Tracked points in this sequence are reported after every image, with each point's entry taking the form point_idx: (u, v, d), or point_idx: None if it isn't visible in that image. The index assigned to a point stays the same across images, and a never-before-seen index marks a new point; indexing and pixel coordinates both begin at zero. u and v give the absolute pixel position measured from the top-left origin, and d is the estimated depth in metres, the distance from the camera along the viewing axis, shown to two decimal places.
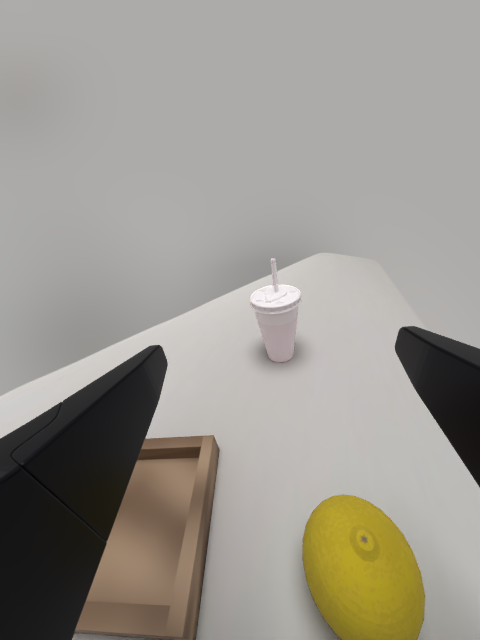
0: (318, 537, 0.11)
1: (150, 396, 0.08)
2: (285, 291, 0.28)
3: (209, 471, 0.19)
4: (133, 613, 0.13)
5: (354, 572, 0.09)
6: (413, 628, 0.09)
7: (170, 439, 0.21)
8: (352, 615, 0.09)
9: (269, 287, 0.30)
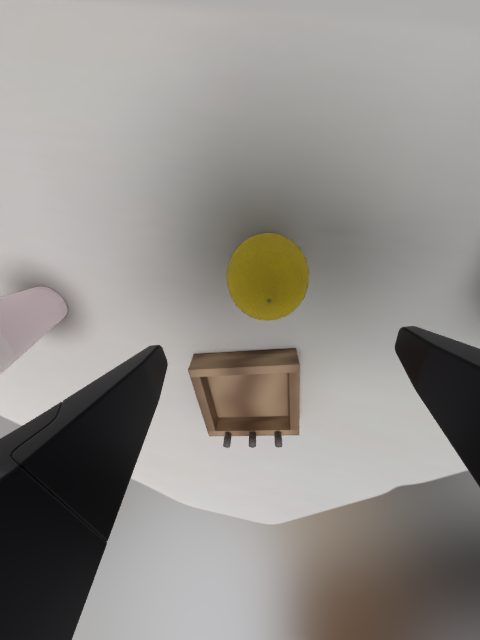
0: (264, 319, 0.14)
1: (150, 396, 0.08)
2: None
3: (216, 365, 0.23)
4: (292, 388, 0.23)
5: (284, 305, 0.13)
6: (302, 262, 0.13)
7: (198, 398, 0.25)
8: (300, 302, 0.14)
9: None
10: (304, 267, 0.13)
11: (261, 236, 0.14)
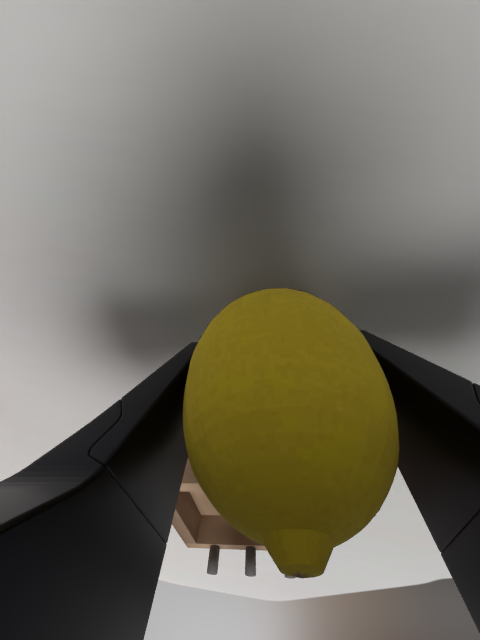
0: None
1: None
2: None
3: (191, 475, 0.14)
4: None
5: None
6: (389, 400, 0.04)
7: None
8: None
9: None
10: (395, 415, 0.05)
11: (268, 314, 0.05)
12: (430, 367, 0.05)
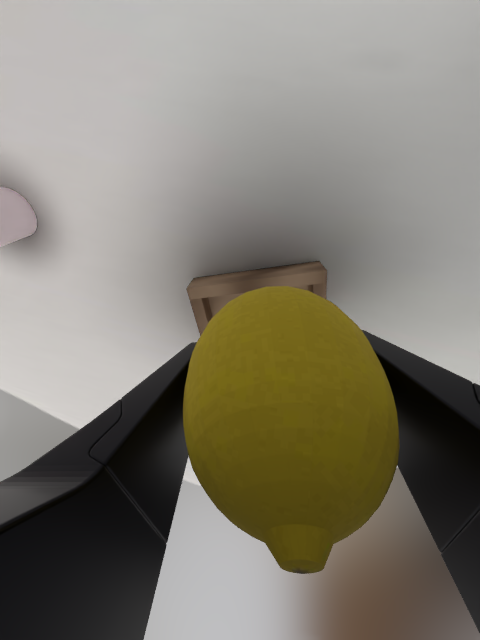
0: None
1: None
2: None
3: (221, 282, 0.18)
4: None
5: (343, 537, 0.04)
6: (389, 397, 0.04)
7: (201, 331, 0.20)
8: None
9: None
10: (395, 411, 0.05)
11: (268, 311, 0.05)
12: (430, 367, 0.05)
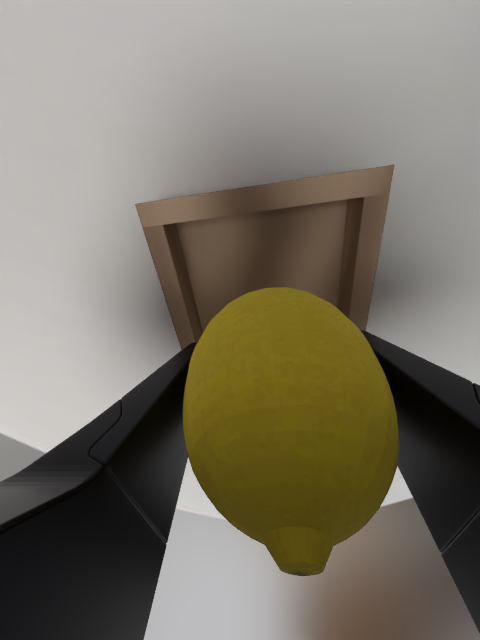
0: None
1: None
2: None
3: None
4: (365, 246, 0.10)
5: None
6: (389, 399, 0.04)
7: (166, 290, 0.12)
8: None
9: None
10: (395, 413, 0.05)
11: (268, 313, 0.05)
12: (430, 367, 0.05)
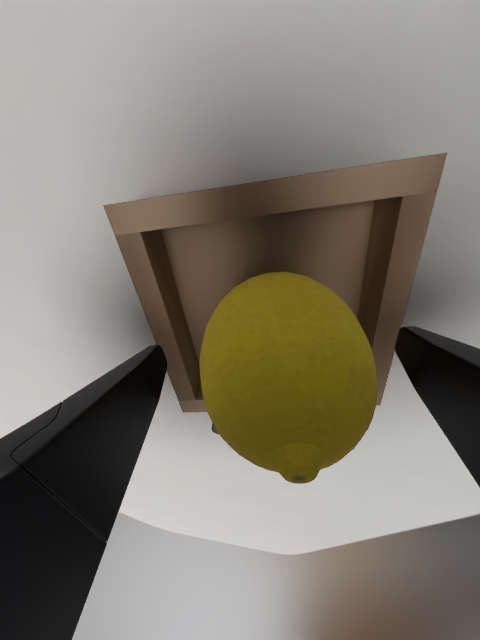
0: None
1: (150, 396, 0.08)
2: None
3: None
4: (399, 260, 0.08)
5: (333, 463, 0.05)
6: (369, 353, 0.06)
7: (148, 311, 0.10)
8: None
9: None
10: (374, 366, 0.06)
11: (270, 289, 0.06)
12: None
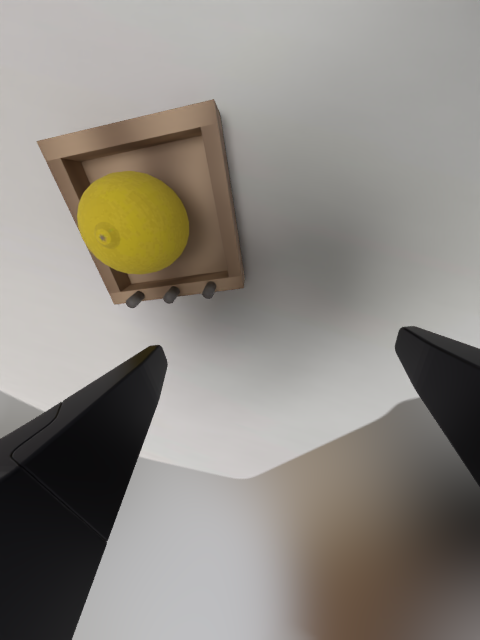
0: (126, 270, 0.12)
1: (150, 396, 0.08)
2: None
3: None
4: (214, 169, 0.14)
5: (133, 246, 0.11)
6: (154, 196, 0.11)
7: (75, 217, 0.16)
8: (162, 247, 0.12)
9: None
10: (158, 202, 0.11)
11: (114, 172, 0.12)
12: None
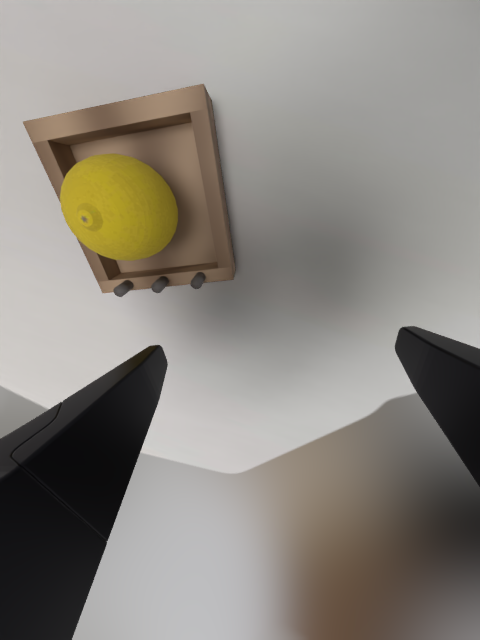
0: (110, 255, 0.12)
1: (150, 396, 0.08)
2: None
3: None
4: (203, 157, 0.14)
5: (116, 230, 0.11)
6: (140, 179, 0.11)
7: None
8: (147, 232, 0.12)
9: None
10: (143, 186, 0.11)
11: None
12: None
